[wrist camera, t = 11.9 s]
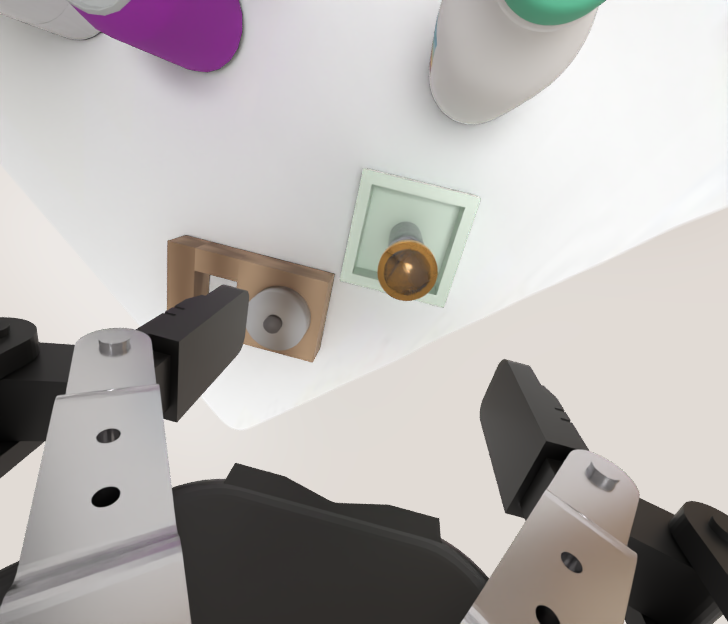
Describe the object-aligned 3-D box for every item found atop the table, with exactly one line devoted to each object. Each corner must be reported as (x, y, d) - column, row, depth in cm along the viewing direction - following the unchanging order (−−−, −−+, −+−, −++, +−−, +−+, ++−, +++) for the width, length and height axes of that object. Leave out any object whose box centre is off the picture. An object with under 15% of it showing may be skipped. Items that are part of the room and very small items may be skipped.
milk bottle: (541, 93, 29) (759, -28, 11) (450, 143, 31) (502, 114, 13) (507, -12, 27) (706, -388, 9) (412, 50, 29) (408, -145, 11)
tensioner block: (183, 312, 41) (149, 334, 36) (185, 235, 38) (147, 246, 32) (319, 349, 41) (305, 376, 35) (334, 273, 37) (321, 292, 32)
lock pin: (390, 212, 33) (385, 236, 22) (430, 222, 33) (445, 250, 22) (380, 252, 35) (371, 293, 24) (419, 261, 35) (427, 306, 24)
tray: (345, 271, 37) (339, 280, 34) (367, 168, 33) (363, 168, 30) (441, 296, 36) (443, 308, 34) (475, 195, 33) (481, 198, 30)
